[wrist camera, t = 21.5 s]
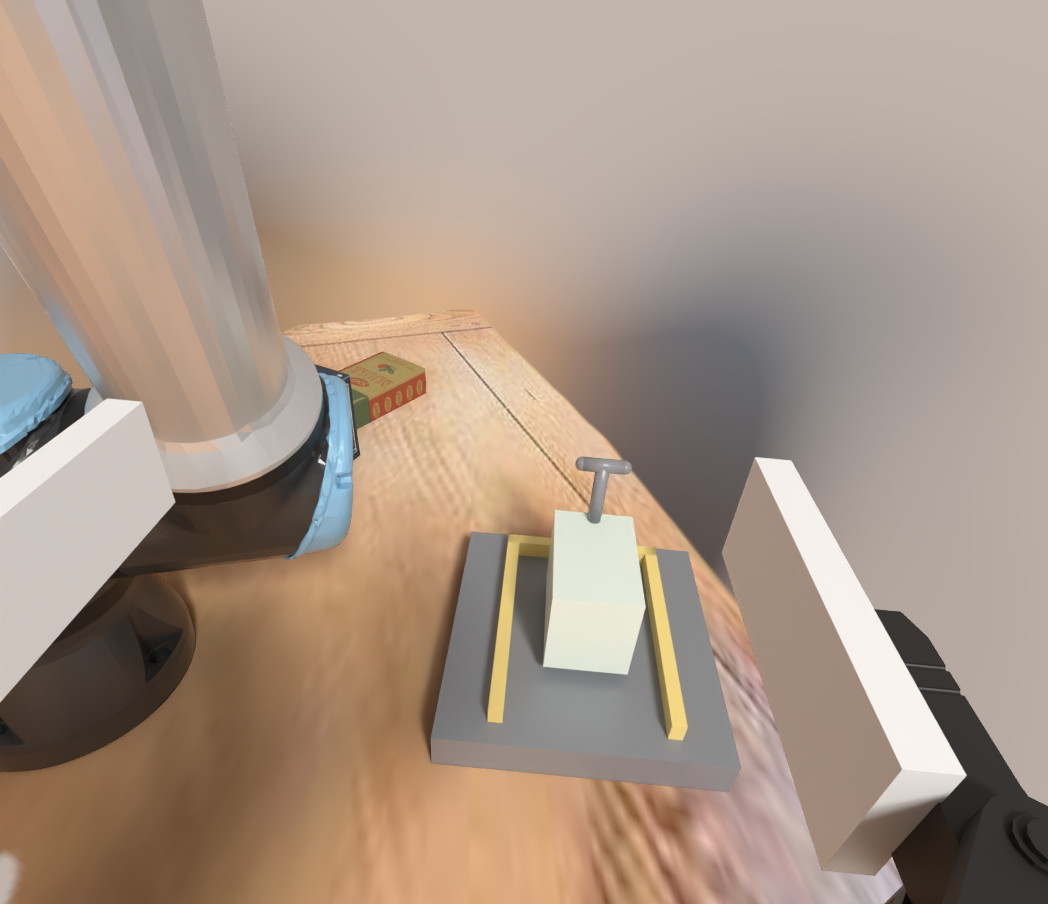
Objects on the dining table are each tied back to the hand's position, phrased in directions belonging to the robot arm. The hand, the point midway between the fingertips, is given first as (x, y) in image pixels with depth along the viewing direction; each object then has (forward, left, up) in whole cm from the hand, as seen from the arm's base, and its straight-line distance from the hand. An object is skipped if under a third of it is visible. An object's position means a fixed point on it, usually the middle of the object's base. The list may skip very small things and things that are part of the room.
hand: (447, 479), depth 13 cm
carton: (-55, +26, -33) cm, 69 cm away
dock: (-10, +20, -32) cm, 39 cm away
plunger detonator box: (-10, +20, -29) cm, 36 cm away
